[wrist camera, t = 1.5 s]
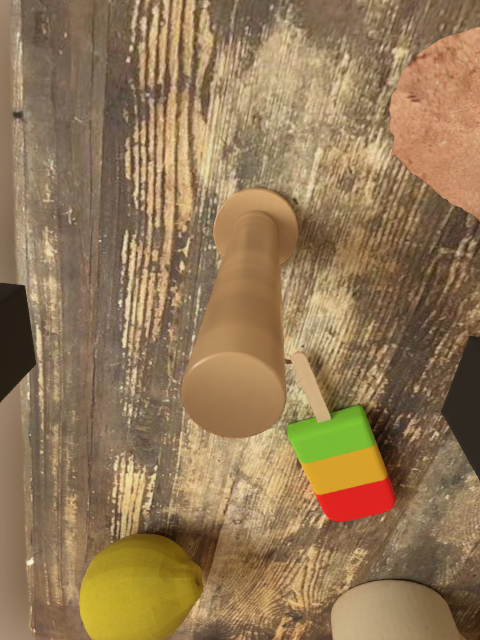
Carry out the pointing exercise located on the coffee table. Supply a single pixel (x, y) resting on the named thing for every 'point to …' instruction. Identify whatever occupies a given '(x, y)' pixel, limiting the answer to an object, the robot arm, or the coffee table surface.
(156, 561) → the lemon
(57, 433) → the coffee table surface
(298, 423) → the popsicle
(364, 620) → the sugar bowl
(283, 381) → the stick
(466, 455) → the robot arm
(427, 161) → the clay slab
